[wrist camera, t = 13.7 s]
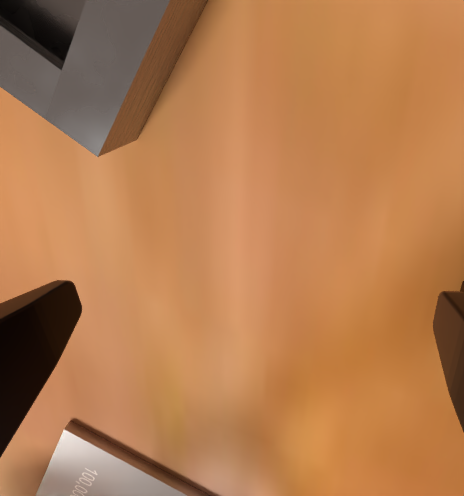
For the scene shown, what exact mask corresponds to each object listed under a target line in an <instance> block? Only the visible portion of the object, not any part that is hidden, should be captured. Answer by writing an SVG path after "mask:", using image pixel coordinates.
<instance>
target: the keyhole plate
mask: <svg viewBox="0 0 464 496" xmlns="http://www.w3.org/2000/svg"><path fill="white" fill-rule="evenodd" d="M207 1H208V0H0V87H1V88H3V89H4V90H6V91H7V92H8V93H10V94H11V95H13V96H14V97H15V98H17V99H18V100H19V101H21V102H22V103H24V104H25V105H26V106H28V107H29V108H31V109H32V110H33V111H35V112H36V113H38V114H39V115H40V116H42V117H43V118H45V119H46V120H47V121H49V122H50V123H51V124H53V125H54V126H56V127H57V128H58V129H60V130H61V131H63V132H64V133H65V134H67V135H68V136H70V137H71V138H72V139H74V140H75V141H76V142H78V143H79V144H81V145H82V146H83V147H85V148H86V149H88V150H89V151H90V152H92V153H93V154H95V155H96V156H97V157H99V156H101V155H103V154H105V153H108V152H110V151H112V150H115V149H117V148H119V147H122V146H124V145H126V144H128V143H131V142H133V141H135V140H137V138H138V136H139V134H140V132H141V130H142V128H143V126H144V124H145V122H146V120H147V118H148V116H149V114H150V112H151V110H152V108H153V107H154V105H155V103H156V101H157V99H158V97H159V95H160V93H161V91H162V89H163V87H164V85H165V83H166V81H167V79H168V77H169V75H170V73H171V71H172V69H173V67H174V65H175V64H176V62H177V60H178V58H179V56H180V54H181V52H182V50H183V48H184V46H185V44H186V42H187V40H188V38H189V36H190V34H191V32H192V30H193V28H194V26H195V24H196V22H197V21H198V19H199V17H200V15H201V13H202V11H203V9H204V7H205V5H206V3H207Z"/></svg>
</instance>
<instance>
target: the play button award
mask: <svg viewBox="0 0 464 496" xmlns="http://www.w3.org/2000/svg"><path fill="white" fill-rule="evenodd" d="M35 496H209V495H208V494H206V493H204V492H202V491H200V490H198V489H196V488H195V487H193V486H191V485H189V484H187V483H185V482H183V481H181V480H180V479H178V478H176V477H174V476H172V475H170V474H168V473H167V472H165V471H163V470H161V469H159V468H157V467H155V466H154V465H152V464H150V463H148V462H146V461H144V460H142V459H141V458H139V457H137V456H135V455H133V454H131V453H129V452H128V451H126V450H124V449H122V448H120V447H118V446H116V445H115V444H113V443H111V442H109V441H107V440H105V439H103V438H102V437H100V436H98V435H96V434H94V433H92V432H90V431H88V430H87V429H85V428H83V427H81V426H79V425H77V424H75V423H74V422H72V421H70V422H69V423H68V425H67V426H66V427H65V429H64V431H63V433H62V435H61V438H60V440H59V442H58V445H57V447H56V449H55V452H54V454H53V456H52V459H51V461H50V463H49V465H48V468H47V470H46V472H45V475H44V477H43V479H42V482H41V484H40V486H39V489H38V491H37V493H36V495H35Z"/></svg>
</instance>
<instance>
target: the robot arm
mask: <svg viewBox="0 0 464 496" xmlns="http://www.w3.org/2000/svg"><path fill="white" fill-rule="evenodd" d="M81 313H82V305H81V302H80V299H79V296H78V293H77V290H76V287H75V285H74V283H73V282H71V281H65V280H57V281H54V282H51V283H49V284H46V285H44V286H41V287H39V288H37V289H34V290H32V291H29V292H27V293H25V294H22V295H20V296H17V297H15V298H12V299H10V300H8V301H5V302H3V303H0V457H1V456H2V454H3V452H4V451H5V449H6V448H7V446H8V444H9V443H10V441H11V439H12V438H13V436H14V434H15V433H16V431H17V429H18V428H19V426H20V424H21V423H22V421H23V420H24V418H25V416H26V415H27V413H28V411H29V410H30V408H31V406H32V405H33V403H34V401H35V400H36V398H37V396H38V395H39V393H40V391H41V390H42V388H43V387H44V385H45V383H46V382H47V380H48V378H49V377H50V375H51V373H52V372H53V370H54V368H55V367H56V365H57V363H58V361H59V359H60V357H61V355H62V353H63V351H64V349H65V347H66V345H67V343H68V341H69V339H70V337H71V334H72V332H73V330H74V328H75V326H76V324H77V322H78V320H79V318H80V316H81ZM433 330H434V335H435V339H436V343H437V347H438V351H439V355H440V359H441V363H442V367H443V371H444V375H445V379H446V383H447V387H448V391H449V394H450V397H451V400H452V403H453V406H454V408H455V411H456V414H457V416H458V419H459V421H460V424H461V427H462V429H463V432H464V281H463V282H462V286H461V290H460V292H459V291H443V292H441V293H440V294H439V296H438V301H437V306H436V311H435V315H434V320H433Z"/></svg>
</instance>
